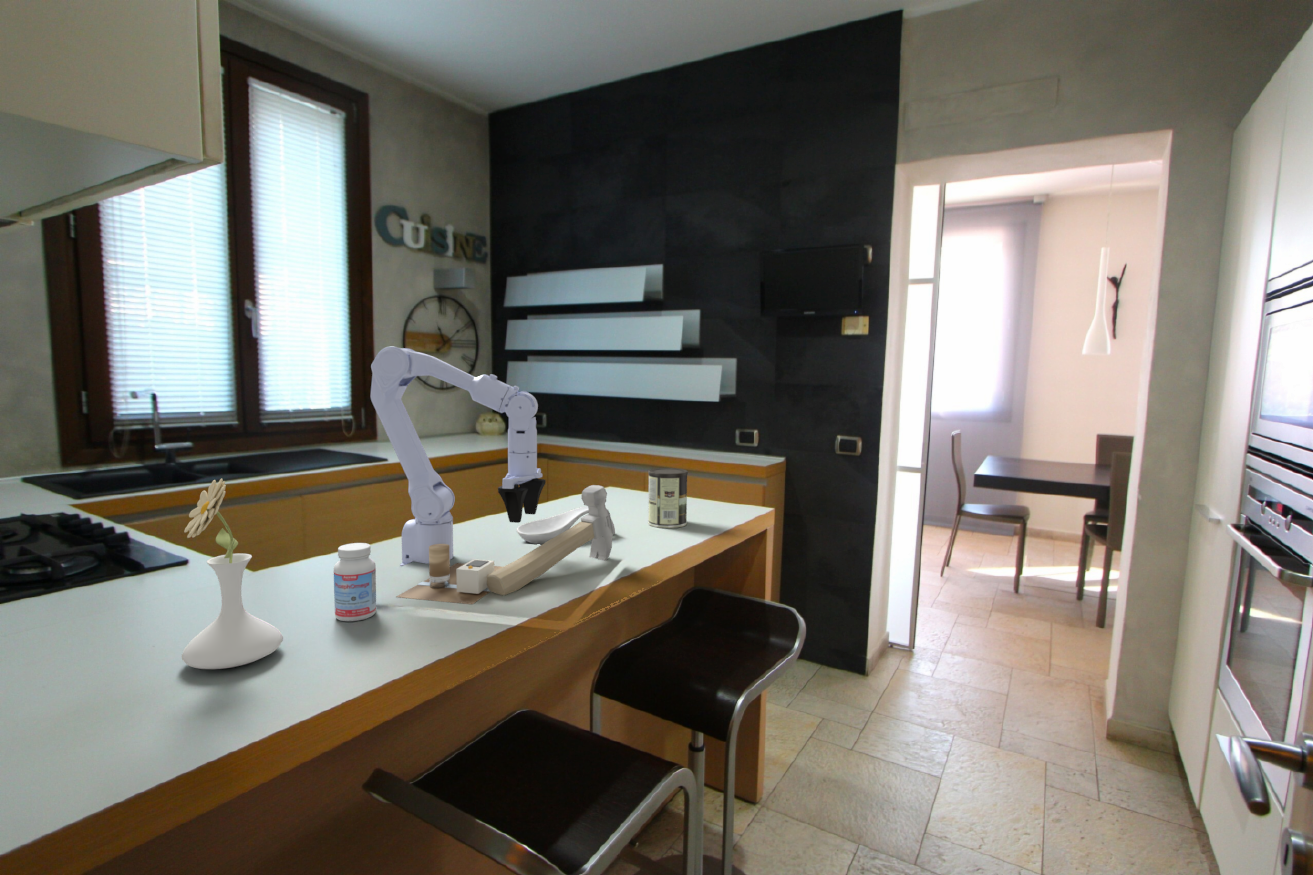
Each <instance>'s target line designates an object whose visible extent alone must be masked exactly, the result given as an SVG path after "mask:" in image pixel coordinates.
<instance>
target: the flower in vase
mask: <svg viewBox="0 0 1313 875" xmlns="http://www.w3.org/2000/svg"><path fill="white" fill-rule="evenodd" d="M226 486H227V485H226V481H225V480H223V478H220V479H219V481H218V482H217V481H216V479H214V480H212V481H211V484H210V485H209V486H208V489H207V491H206V490H202V491H201V493H200V495H199V500H198V501H197V503H196V506H197V507H195V508H193V509H191V511H190V512H189V514H188V517H189V518H191V520H190V521H189V522H188V524H187V526H186V527H185V528H184V531H183V532H184V533H188V532H189V533H188V534H187V536H186V538H187V539H189V538H191V537H192V538H195V537H197V536H199V535H200V534H201V533H202V532H203V531H205V530H206V528H208V525H209V524H210V523H211V522H212V520H213V518H214V517H215V515H216V516H217V517H218V518H219V520H220V522H222V524H223V526H224V527H225V529H226V530H225V529H224V528H221V529H220V530H219V532H218V533H217V535H216V537H215V543H216V544H217V545H219V546H221V547H222V548H223V549H225V550H227V551H226V553H225V554H221V555H218V556H214V557H211V558H210V559H207V560H206V564H207V565H208V566H209V567H211V569H212V570H213V571H214V574H215V575H216V576H217V579H218V583H219V587H220V594H221V608H220V612H219V613H218V616H216V618H215V619H214V620H213V621H212V622H211V623H210V624H208V625H207V626H206V627H205V628H203V629H202V630H201V631H200V632H199V633H198V634H196V636H195V637H193V638H192V639H191V640H190V641H189V642H188V644H187V645H186V646H185V647H184V649H183V650H182V654H181V660H182V661H183V662H184V663H185V664H186V665H187V666H188V667H191V668H195V669H201V670H222V669H230V668H235V667H239V666H244V665H248V664H251V663H253V662H255V661H258V660H260V659H263V658H264V657H267V656H269V655H270V654H273V653H274V652H275V651H277V650H278V648H280V646H281V644H282V642H283V641H284V636H283V634H282V632H281V631H280V629H278V628H277V627H276V626H274V625H272V624H271V623H269V622H267V621H265V620H263V619H261V618H258V617H256V616H255V615H252V614H251V613H249V612H248V611H246V609H245V607H244V605H243V598H242V587H243V586H242V583H243V576H244V572H245V569H246V567H247V566H248V563H249V562H250V561H251V559H252V558H253V556H252V554H249V553H234V550H235V549H236V548H237V546H238V545H239V541H237V539H236V538H234V537H233V532H232V530H231V528H230V526H229V524H228V523H227V521H226V520H225V518H224V516H222V514H221V512H220V511H219V509H220V506H221V505H222V503H223V499H224V497H225V495H226ZM192 518H193V519H192Z"/></svg>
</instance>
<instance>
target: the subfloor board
mask: <svg viewBox="0 0 1313 875" xmlns="http://www.w3.org/2000/svg"><path fill="white" fill-rule="evenodd" d="M464 564H465V563H461V562H455V563H454V564H453V565H450V585H449V586H447V587H444V588H431V587H430V577H429V578H427V579H425V580H424V581H421V582H419V583H417V584H416V585H414V586H412V587H411V588H409V589H407V590H405V591H404V592H401V593H400V594H399V595H396V596H395V598H400V599H401V598H402V599H411V600H412V599H413V600H423V601H432V602H441V603H442V602H443V603H454V604H463V605H474V604H476V602H478V601H479V600H480V599H482V598H484V597H486V595H488V594H489V593H490V592H491V591H490V590H489V588H486V589H485V590H483V591H482V592H480V593H479V594H475V593H464V592H457V572H456V569H457V568H459V567H461V566H463V565H464ZM502 567H503V566H498V565H494V571H496V570H498V569H500V568H502ZM491 593H492V592H491Z"/></svg>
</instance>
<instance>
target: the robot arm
mask: <svg viewBox="0 0 1313 875" xmlns="http://www.w3.org/2000/svg"><path fill="white" fill-rule="evenodd" d="M370 368H371V373H372V374H371V375H372V376H371V386H370V400H371V403H372V405H373V408H374V409H375V412H376V414H377V416H378V418H379V420H380V422H381V425H382V426H383V429H384V432H385V433H386V435H387V437H388V439H389V442H390V444H391V446H392V448H393V451H394V453H395V454H396V455H395V456H397V459H398V461H399V463H400V465H401V467H402V470H403V472H404V474H405V476H406V478H407V480H408V491H407V492H408V495H409V498H410V500H411V506H410V507H411V513H412V515H413V517H414V518H413V519H409V520H407V521H406V522H405V523H404V525H403V528H402V531H401V563H400V564H399V567H405V566H406V565H408V564H411V562H417V563H420V564H422V563H423V564H429V546H431V545H434V544H448V545H449V556H450V561H451V560H453V558H454V517H453V515H452V514H451V512H450V510H452V508H453V507H454V504H455V499H456V497H455V494H454V492H453V490H452V489H451V488H450V487H449V486H448V485H446V483H445V482H444V481H443V479H442V477H441V476H440V474H438V472H437V471H436V470H434V468H433V465H432V463H431V461H430V459H429V457H428V456H429V455H428V454H427V452H426V450H425V447H424V446H423V444H422V442H421V441H422V440H421V439H420V437H419V435H418V433H417V430H416V429H415V426H414V424H413V422H412V419H411V417H410V416H409V413H408V411H407V409H406V406H405V405H404V403H403V399H402V398H403V395H404V393H405V391H406V390H407V388H408V385H410V383H411V382H413V380H415V379H416V378H417V377H421V376H422V377H426V376H431V377H433V378H435V379H438V380H441V381H443V382H445V383H448V384H450V385H453V386H455V387H458V388H460V389H462V390H465V391H467V392H468V393H469V395H470V397H471V400H472V401H473V402H476V403H478V404H480V405H482V406H485V407H486V408H489V409H492V410H494V411H496V412H498V413H500V414H503V413H505V414H506V416H507V417H508V429H507V473H506V475H505V477H503V478H502V485H500V486H498V487H497V493H498V494H499V496H500V498H501V499H502V501H503V504H504V506H505V509H506V514H507V518H508V522H509V523H518V524H519V523H521V522H522V517H523V510H524V514H525V515H535V514H536V513H537V509H538V505H539V500H540V497H541V493H542V491H543V489H544V487H545V485H546V482H547V481H546V479H543V473H542V469H541V468H538V435H537V434H538V430H537V420H536V418H537V417H536V416H535V415H536V414H537V412H538V409H539V408H538V407H539V404H538V400H537V399H536V397H535V396H534V395H533V394H531V393H529V391H526V390H522V391H519V389H520V387H519V386H517V385H514V386H511V385H510V384H508V383H505V382H503V381H501V380H498V376H497V375H495V374H489V375H488V374H481V375H479V376H474V375H472V374H470V373H467V372H465V371H464V370H462V369H460V368H457V367H456V366H455V365H454V366H453V365H452V364H450V363H448V362H446V361H443V360H442V359H439V358H437V357H436V356H432V355H430V354H426V353H424V352H419V351H416V350H414V349H412V348H408V347H405V348H404V347H402V348H401V347H399V346H398V347H397V346H393V345H392V346H386V347H383V348H382V349H381V350H379V351H378V353H377V354H376V355H375V358H374V360H372V363H371V365H370Z"/></svg>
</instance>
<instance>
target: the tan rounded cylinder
mask: <svg viewBox="0 0 1313 875" xmlns="http://www.w3.org/2000/svg"><path fill="white" fill-rule="evenodd" d="M450 561H451V560H450V556H449V545H448V544H434V545H431V546H429V563H428V566H429V567H428V570H429V571H428V572H429V576H428V577H429V578H430V587H431V588H444V587H447V586H449V585H450V566H451V563H450Z"/></svg>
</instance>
